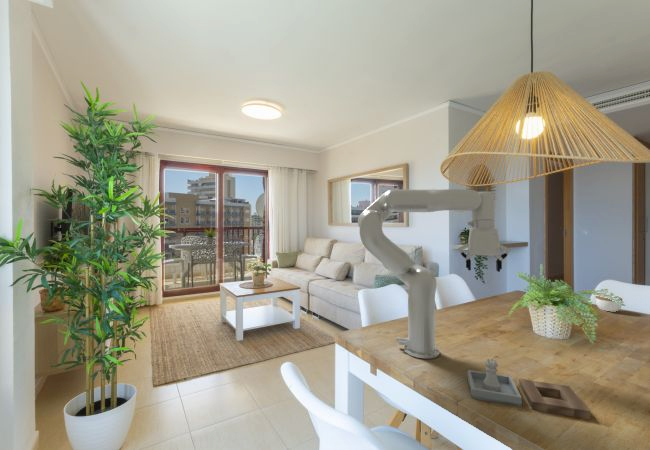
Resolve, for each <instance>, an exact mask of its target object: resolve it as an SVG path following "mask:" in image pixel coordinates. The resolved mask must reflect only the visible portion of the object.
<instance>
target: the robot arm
mask: <svg viewBox="0 0 650 450" xmlns="http://www.w3.org/2000/svg"><path fill="white" fill-rule="evenodd" d="M495 206H496V205H495V193H494V192H493V191H477V190H474V189H471V188H470V189H469V188H468V189H467V188H466V189H465V188H463V189H462V188H458V189H457V188H455V189H454V188H453V189H452V188H450V189H449V188H448V189H433V188H432V189H403V188H402V189H401V188H400V189H399V188H398V189H395V188H394V189H389V190H386V191H385V192H384V193H382V194H381V195H380V196H379V197H378V198H377V199H376V200H375V201H374V202H373V203H371V204H370V205H369V206H368V207H367V208H366V209H364V210H363V211H362V212H360V214H359V215H358V217H357V225H358V228H359V237H360V240H361V243H362V245H363V247H364V248H365V249H366V250H367V251H368V252H369V253H370V254H371V255H372V256H373V257H375V258H376V259H377V260H378V261H379V262H380V263H382V266H384V268H385V269H386V270H387V271H389V272H390V273H391V274H392V275H394V276H395V277H396V278H397V279H399V281H401V282H402V283H404V284H405V285H406V286H407V287H409V288H408V289H409V290H408V298H407V331H408V333H407V337H406V336H404V337H399V336H396V338H395V339H396V340H395V341H396V343H398V344H399V345H401V346H404V347H403V350H404V352H405V353H406V354H407V355H409V356H411V357H413V358H418V359H426V360H427V359H428V360H429V359H435V358H437V357H439V356H440V349H439V348H438V347H437V346H436V327H435V325H436V324H435V323H436V318H435V317H436V311H435V310H436V309H435V308H436V306H435V301H436V300H435V299H436V291H437V279H436V276H435V274H434V273H433V272H432V271H431V270H430V269H429V268H426V267H424V266H423V265H422V266H421V265H420V264H418V263H417V262H416V261H414V260H413V259H412V258H411V256H410V255H409V254H408V253H407V252H406V251H405V250H403V249H402V248H400V247H399V246H398V245H397V244H396V243H394V242H393V241H392V240H391V239H389V238H388V237H387V236H386V235H385V233H384V231H383V222H384V221H386V220H387V219H388V218H389V217H390V216H391V215H393V213H433V212H441V211H454V212H457V213H464V212H471V221H467V226H470V227H471V228H469V233H468V234H469V235H468V242H467V243H465V244H463V245H461V246H459V247H458V248H457V249H458V251H459V253H460V255H461V256H462V257H463V258H465V267H466V269H467V270H468V271H471V270H472V269H471V268H472V263H471V262H472V261H471V257H473V256H489V257H490V256H491V257H492V256H494V257H495V258H496V260H495V270H496V272H501V270H502V268H503V266H502V263H503V261H504V260H505V259H506V257H508V255H509V253H510V251H511V248H509V247H506V246H504V245H503V244H501V243H500V237H499V236H500V235H499V230H498V228H495V226H496V225H495V221H496V220H495V216H496V215H495V214H496V212H495V211H496V210H495ZM464 249H467V251H468V252H467V254H466V253H465V252H464ZM500 250H504V251H503V253H502V254H501V255H500V252H501V251H500Z"/></svg>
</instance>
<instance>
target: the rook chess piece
mask: <svg viewBox="0 0 650 450" xmlns="http://www.w3.org/2000/svg"><path fill="white" fill-rule="evenodd" d="M497 362H498V361H497V360H496V359H494V360H493V358H487V359H486V361H485V362H484V364H485V365H486V367H485V370H486V373H487V374H486V378H485V380H484V381H483V383H484V384H483V386H484V388H485V389H486V390H489V391H495V392H499V391H500V390H501V388H500V383H499V381H498V379H497V374H498V369H497V368H498V366H499V365H498V363H497Z"/></svg>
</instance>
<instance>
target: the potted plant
mask: <svg viewBox="0 0 650 450" xmlns="http://www.w3.org/2000/svg"><path fill="white" fill-rule="evenodd" d="M594 297H595V303H596V307H598V309H600V310H601V309H602V310H606V311H615V312H616V311H617V312H619V311H620V310H621V308H622V306H621V305H619V304H618V303H616V302H615V301H612V300H610V299H608V298H604V297H600V296H594ZM617 297H618V298H619V299H620V300H621V301H622V302H623V297H621V296H620V297H619V296H617ZM602 310H601V311H602ZM617 312H616V313H617Z"/></svg>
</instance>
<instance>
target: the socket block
mask: <svg viewBox="0 0 650 450" xmlns="http://www.w3.org/2000/svg"><path fill="white" fill-rule="evenodd" d="M518 380H519V381H518V382H519V383H518V385H519V387H520V390H521V393H523V395H524V398H525V399H526V401H527V402H528V405H529V407H530V408H531V410H534V411H539V412H546V413H551V414H556V415H562V416H569V417H573V418H580V419H585V420H591V411H590V409H589V408H588V407H587V406H586V404H585V403H584V402H583V400H581V399H580V397H579V396H578V395H577V394H576V393H575V391H574V390H573V389H572V388H571V386H570V385H563V384H556V383H551V382H543V381H538V380H537V381H535V380H530V379H524V378H519V379H518ZM544 396H550V397H556V398H560V399H556V398H550V397H544Z"/></svg>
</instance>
